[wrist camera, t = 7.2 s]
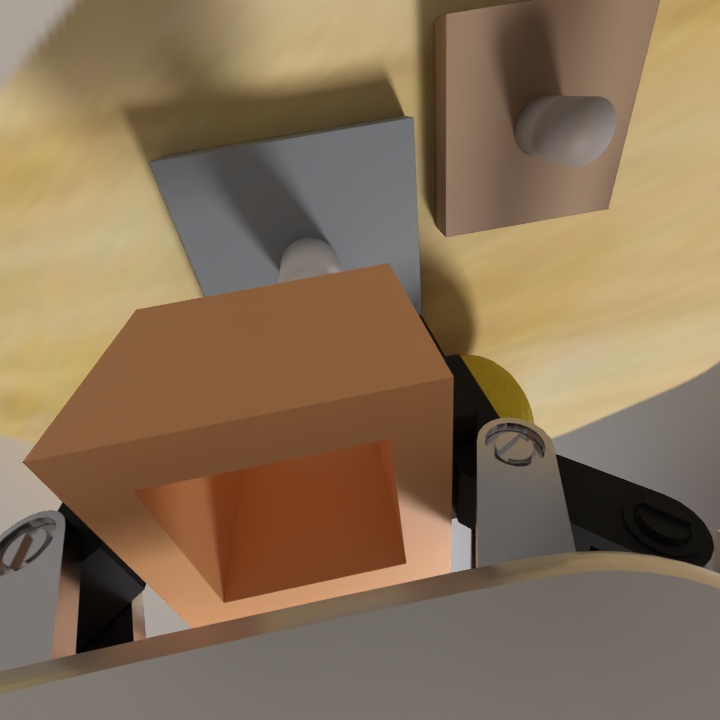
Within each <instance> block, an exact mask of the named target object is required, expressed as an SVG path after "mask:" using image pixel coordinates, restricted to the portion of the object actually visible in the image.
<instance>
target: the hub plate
mask: <svg viewBox="0 0 720 720" xmlns="http://www.w3.org/2000/svg"><path fill="white" fill-rule="evenodd" d="M149 165H150V167H151V169H152V172H153V174H154V177H155V179H156V181H157V184H158V186H159V188H160V191H161V193H162V196H163V198H164V200H165V203H166V205H167V207H168V210H169V212H170V215H171V217H172V219H173V222H174V224H175V226H176V229H177V231H178V234H179V236H180V238H181V241H182V243H183V246H184V248H185V250H186V253H187V255H188V257H189V260H190V262H191V265H192V267H193V269H194V272H195V274H196V276H197V279H198V281H199V284H200V286H201V288H202V291H203V293H204V295H205V297H208V296H213V295H219V294H224V293H229V292H235V291H240V290H246V289H251V288H256V287H262V286H267V285H273V284H278V283H283V282H289V281H294V280H299V279H305V278H310V277H316V276H321V275H326V274H332V273H337V272H343V271H348V270H353V269H359V268H364V267H370V266H375V265H380V264H386V263H389V264H390V266H391V268H392V269H393V271H394V273H395V275H396V277H397V278H398V280H399V282H400V284H401V285H402V287H403V289H404V291H405V292H406V294H407V296H408V298H409V299H410V301H411V303H412V305H413V306H414V308H415V310H416V312H417V313H418V315H419V314H421V316H422V308H421V284H420V260H419V236H418V211H417V187H416V163H415V139H414V118H413V117H409V116H399V117H393V118H387V119H382V120H376V121H370V122H364V123H358V124H352V125H346V126H340V127H334V128H328V129H322V130H316V131H310V132H305V133H299V134H293V135H287V136H281V137H275V138H269V139H263V140H257V141H251V142H245V143H239V144H233V145H228V146H222V147H216V148H210V149H204V150H198V151H192V152H186V153H180V154H174V155H168V156H162V157H159V158H157V159H155V160H153V161H151V162H149Z"/></svg>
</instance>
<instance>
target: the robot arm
mask: <svg viewBox="0 0 720 720" xmlns="http://www.w3.org/2000/svg"><path fill="white" fill-rule="evenodd" d="M419 317H420V319H421V320H422V322H423V324H424V326H425V327H426V329H427V331H428V333H429V334H430V336H431V338H432V340H433V341H434V343H435V345H436V347H437V348H438V350H439V352H440V354H441V355H442V357H443V359H444V361H445V362H446V364H447V366H448V368H449V369H450V371H451V373H452V375H453V376H454V386H453V454H452V519H454V518H457V519H458V521H459V523H461V524H463V525H465V526H467V527H468V528H470V529H471V569H468V570H463V571H459V572H453V573H448V574H443V575H438V576H433V577H429V578H424V579H419V580H415V581H410V582H405V583H400V584H396V585H391V586H386V587H382V588H377V589H372V590H368V591H363V592H358V593H353V594H349V595H344V596H339V597H335V598H330V599H325V600H321V601H316V602H311V603H307V604H302V605H297V606H293V607H288V608H284V609H279V610H274V611H270V612H265V613H261V614H256V615H251V616H247V617H242V618H238V619H233V620H228V621H224V622H219V623H215V624H210V625H206V626H201V627H196V628H192V629H188V630H183V631H178V632H174V633H169V634H165V635H160V636H155V637H151V638H146V632H145V619H144V606H143V595H142V591H143V590H144V588H145V585H146V584H147V583H146V582H145V581H144V580H143V579H142V578H140V577H139V576H138V575H137V574H136V573H135V572H134V571H133V570H132V569H131V568H130V567H129V566H128V565H127V564H126V563H125V562H124V561H123V560H122V559H121V558H120V557H119V556H118V555H117V554H116V553H115V552H114V551H113V550H112V549H111V548H110V547H109V546H108V545H107V544H106V543H105V542H104V541H103V540H102V539H101V538H100V537H98V536H97V535H96V534H95V533H94V532H93V531H92V530H91V529H90V528H89V527H88V526H87V525H86V524H85V523H84V522H83V521H82V520H81V519H80V518H79V517H78V516H77V515H76V514H75V513H74V512H73V511H72V510H71V509H70V508H69V507H68V506H67V505H66V504H65V503H64V502H63V501H62V500H61V499H60V498H59V499H60V500H61V501H62V502H63V503H62V505H61V506H60V508H59V510H58V511H53V510H50V511H42V512H39V513H36V514H33V515H30V516H28V517H26V518H24V519H23V520H21V521H19V522H17V523H16V524H15V525H13V526H11V527H10V528H9V529H8V530H6V531H5V532H3V533H2V534H1V535H0V720H720V530H719V531H717V530H714V529H711V528H709V527H706V525H705V523H704V522H703V521H702V520H701V519H700V518H699V517H698V516H697V515H696V514H695V513H694V512H693V511H692V510H690V509H689V508H688V507H686V506H685V505H683V504H682V503H681V502H679V501H677V500H675V499H672V498H671V497H668V496H666V495H664V494H661V493H658V492H656V491H653V490H651V489H648V488H645V487H643V486H640V485H637V484H635V483H632V482H629V481H627V480H624V479H621V478H618V477H616V476H613V475H611V474H608V473H605V472H603V471H600V470H597V469H595V468H592V467H589V466H587V465H584V464H581V463H578V462H576V461H573V460H570V459H568V458H565V457H563V456H560V455H557V454H555V449H554V446H553V443H552V441H551V438H550V437H549V436H548V435H547V434H546V433H545V431H544V430H542V429H541V428H539V427H538V426H536V425H535V424H533V423H530V422H528V421H525V420H522V419H516V418H500V417H499V415H498V414H497V412H496V411H495V409H494V407H493V406H492V404H491V403H490V401H489V400H488V398H487V397H486V395H485V393H484V392H483V390H482V389H481V387H480V386H479V384H478V382H477V381H476V379H475V378H474V376H473V375H472V373H471V372H470V370H469V368H468V367H467V365H466V364H465V362H464V361H463V359H462V358H461V357H460V355H458V354H455V355H450V356H445V355H444V353H443V352H442V350H441V348H440V347H439V345H438V343H437V341H436V340H435V338H434V336H433V335H432V333H431V331H430V329H429V328H428V326H427V324H426V322H425V321H424V319H423V317H422V316H421V314H419Z"/></svg>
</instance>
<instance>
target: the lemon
mask: <svg viewBox="0 0 720 720" xmlns="http://www.w3.org/2000/svg"><path fill="white" fill-rule="evenodd" d="M460 357H461V358H462V359H463V361H464V362H465V364H466V365H467V367H468V368H469V370H470V372H471V373H472V375H473V376H474V378H475V379H476V381H477V382H478V384H479V386H480V387H481V389H482V390H483V392H484V393H485V395H486V397H487V398H488V400H489V401H490V403H491V404H492V406H493V407H494V409H495V411H496V412H497V414H498V415H499V417H500V418H516V419H522V420H525V421H528V422H530V423H533V424H534V420H533V416H532V411H531V408H530V405H529V402H528V400H527V398H526V396H525V394H524V392H523V390H522V389H521V387H520V386H519V384H518V383H517V382H516V380H515V379H514V378H513V376H512V375H511V374H510V373H509V372H507V371H506V370H505V369H504V368H502V367H501V366H499V365H498V364H497V363H495V362H494V361H491V360H489V359H486V358H483V357H480V356H474V355H462V356H460Z"/></svg>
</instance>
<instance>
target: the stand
mask: <svg viewBox="0 0 720 720" xmlns="http://www.w3.org/2000/svg"><path fill="white" fill-rule="evenodd" d="M659 2H660V0H528V1H522V2H516V3H510V4H504V5H498V6H492V7H486V8H480V9H474V10H468V11H462V12H455V13H449V14H446V15H444V16H442V17H440V18H438V19H436V20H435V21H434V60H435V140H436V220H437V228H438V229H439V230H440V232H441V233H442V234H443V235H444V236H445V237H450V236H456V235H462V234H467V233H473V232H479V231H485V230H490V229H496V228H502V227H508V226H513V225H519V224H525V223H530V222H536V221H542V220H548V219H553V218H559V217H565V216H570V215H576V214H582V213H588V212H593V211H599V210H605V209H608V207H609V203H610V199H611V195H612V191H613V187H614V183H615V179H616V175H617V171H618V167H619V163H620V159H621V155H622V151H623V147H624V143H625V139H626V135H627V131H628V127H629V123H630V119H631V115H632V111H633V107H634V103H635V99H636V95H637V91H638V87H639V83H640V79H641V75H642V70H643V66H644V62H645V58H646V54H647V50H648V46H649V42H650V38H651V34H652V30H653V26H654V22H655V18H656V14H657V10H658V6H659Z"/></svg>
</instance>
